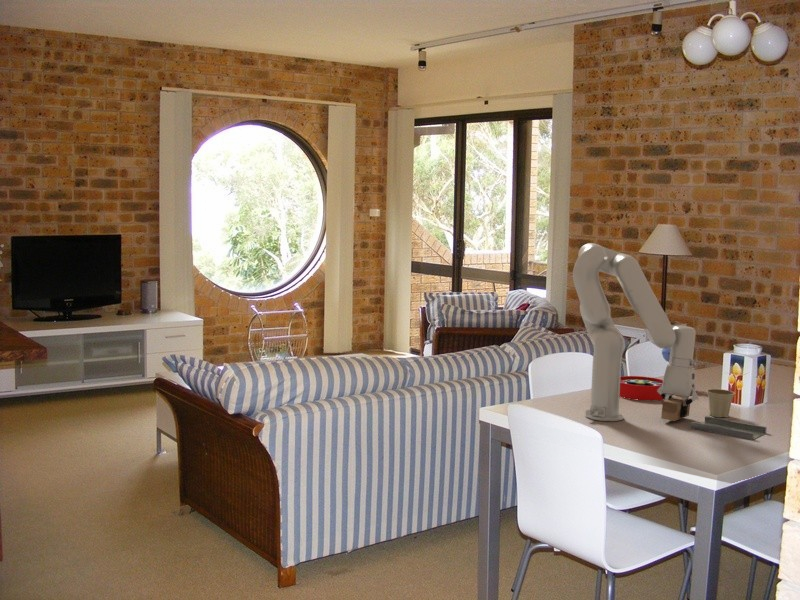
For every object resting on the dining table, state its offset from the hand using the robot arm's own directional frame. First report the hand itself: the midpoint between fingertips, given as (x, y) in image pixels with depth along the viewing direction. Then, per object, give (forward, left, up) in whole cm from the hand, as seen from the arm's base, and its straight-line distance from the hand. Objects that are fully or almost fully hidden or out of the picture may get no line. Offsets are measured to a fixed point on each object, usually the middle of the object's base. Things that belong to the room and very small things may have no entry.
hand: (675, 414), depth 299 cm
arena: (0, -18, -2) cm, 19 cm away
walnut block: (0, 0, -1) cm, 1 cm away
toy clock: (+30, +28, -3) cm, 41 cm away
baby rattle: (+57, +27, -2) cm, 63 cm away
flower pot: (+19, -8, -2) cm, 20 cm away
